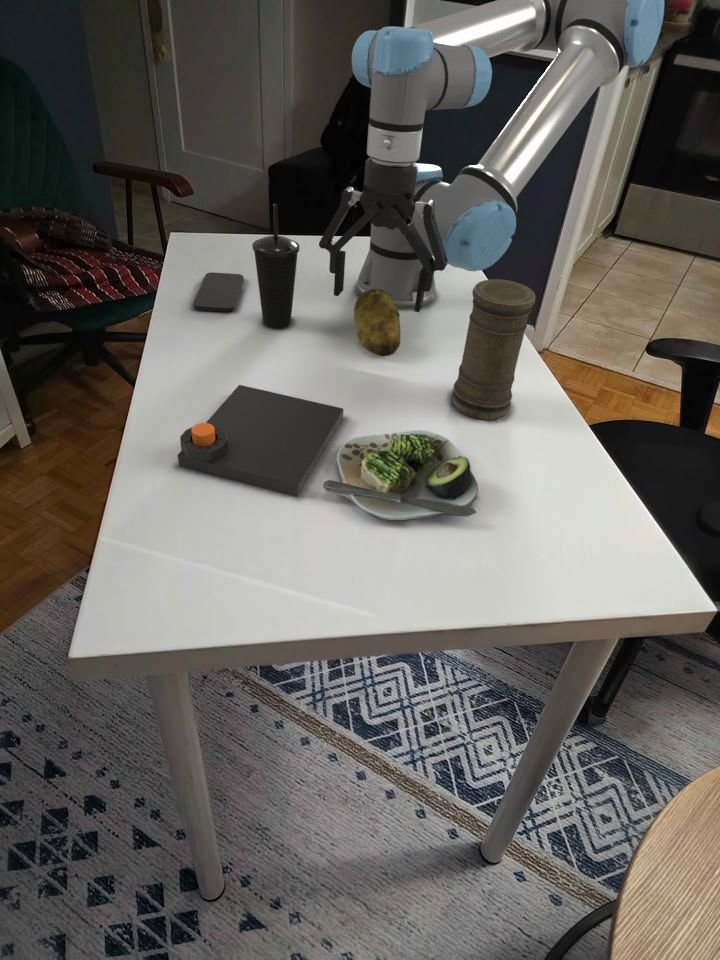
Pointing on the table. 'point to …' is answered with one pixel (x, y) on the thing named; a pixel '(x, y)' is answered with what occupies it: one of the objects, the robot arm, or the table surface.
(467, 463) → the salad plate
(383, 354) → the potato
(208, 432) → the button
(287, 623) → the table surface
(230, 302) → the phone
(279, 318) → the drinking cup
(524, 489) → the table surface
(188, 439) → the scale
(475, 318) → the container
